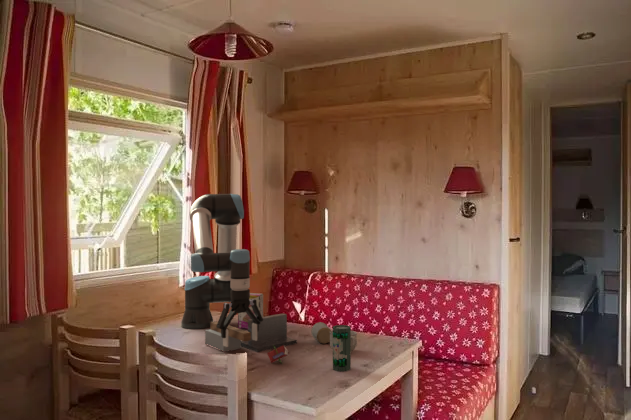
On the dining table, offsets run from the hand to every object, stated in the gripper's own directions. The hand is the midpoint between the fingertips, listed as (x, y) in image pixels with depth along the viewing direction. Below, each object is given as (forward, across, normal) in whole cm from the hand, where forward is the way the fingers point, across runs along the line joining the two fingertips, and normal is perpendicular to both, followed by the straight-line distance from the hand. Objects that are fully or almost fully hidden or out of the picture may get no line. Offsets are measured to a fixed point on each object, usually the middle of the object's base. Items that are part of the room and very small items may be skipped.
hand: (240, 343), depth 210 cm
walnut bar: (-2, 0, +8) cm, 8 cm away
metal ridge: (+4, +16, +4) cm, 17 cm away
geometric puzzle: (+4, +4, -19) cm, 20 cm away
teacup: (+4, +32, -26) cm, 41 cm away
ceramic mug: (+4, +37, -8) cm, 38 cm away
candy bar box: (+4, +26, +32) cm, 41 cm away
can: (+4, +17, -40) cm, 44 cm away
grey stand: (+4, 0, +14) cm, 14 cm away
